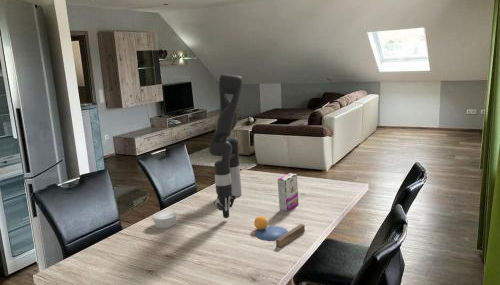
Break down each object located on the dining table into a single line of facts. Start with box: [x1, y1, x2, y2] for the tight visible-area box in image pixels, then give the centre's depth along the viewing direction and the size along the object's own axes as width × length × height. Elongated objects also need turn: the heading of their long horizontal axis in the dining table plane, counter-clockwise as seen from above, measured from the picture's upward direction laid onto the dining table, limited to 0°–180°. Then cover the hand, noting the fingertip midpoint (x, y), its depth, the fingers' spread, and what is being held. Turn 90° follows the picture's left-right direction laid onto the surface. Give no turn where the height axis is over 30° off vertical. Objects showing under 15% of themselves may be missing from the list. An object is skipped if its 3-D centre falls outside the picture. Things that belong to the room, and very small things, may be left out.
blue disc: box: [255, 225, 289, 242], centre depth 170 cm, size 14×14×1 cm
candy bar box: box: [277, 172, 300, 212], centre depth 197 cm, size 11×5×16 cm, turn 143°
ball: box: [253, 215, 269, 230], centre depth 174 cm, size 6×6×6 cm
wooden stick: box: [275, 223, 306, 249], centre depth 163 cm, size 2×18×3 cm, turn 140°
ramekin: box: [152, 209, 177, 229], centre depth 186 cm, size 11×11×5 cm
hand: (226, 217), depth 187 cm, fingers closed
